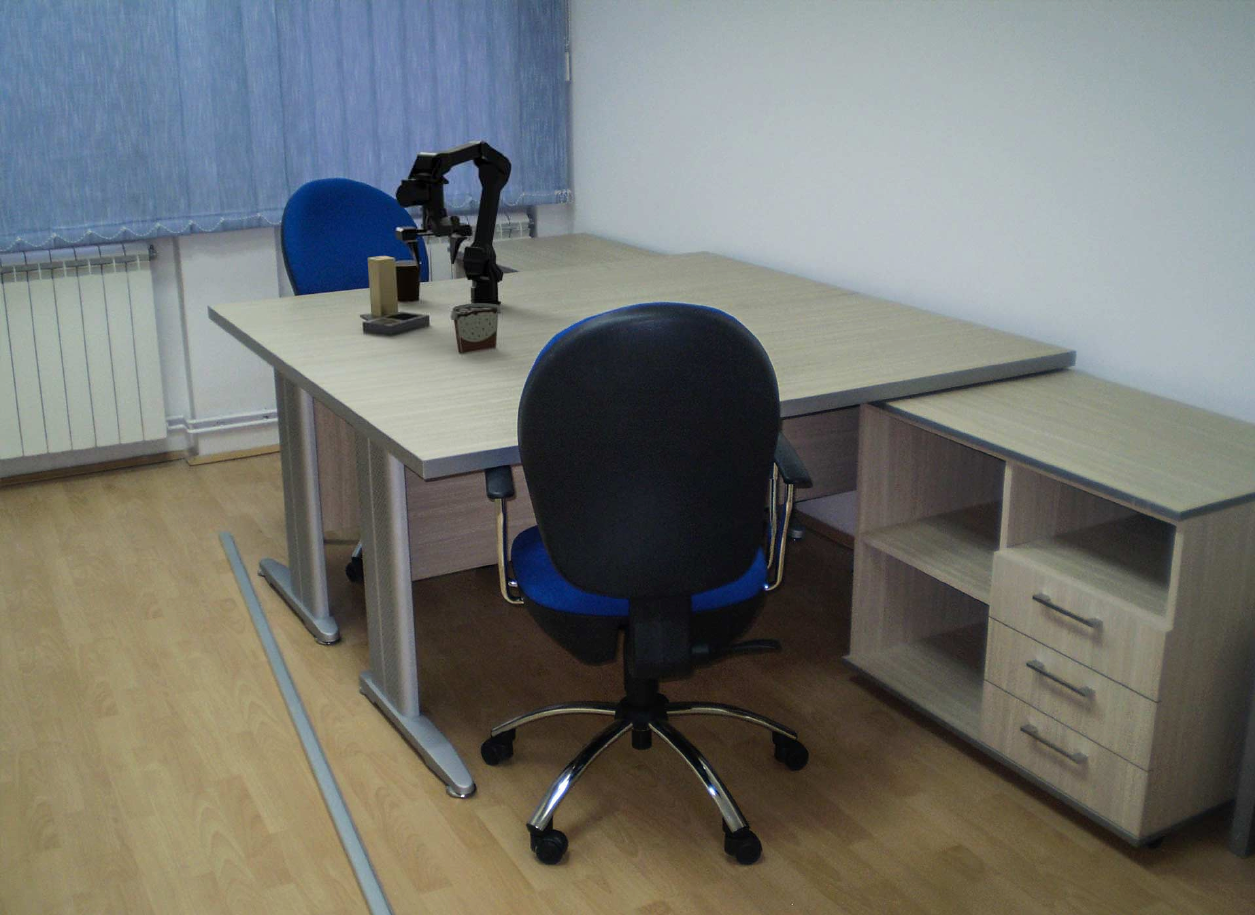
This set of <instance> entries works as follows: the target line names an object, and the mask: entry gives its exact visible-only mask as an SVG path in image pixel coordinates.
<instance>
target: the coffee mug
mask: <svg viewBox="0 0 1255 915" xmlns="http://www.w3.org/2000/svg"><path fill="white" fill-rule="evenodd" d="M395 264H396V282H397V299H398V302H400V303H412V302H417V301H419V300H420V293H421V292H420V290H421V288H420V287H421V275H422V274H421V273H422V262H421V261H420V267H417V265H416V263H415V261H414V260H397V261H396V260H395Z"/></svg>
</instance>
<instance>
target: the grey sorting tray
mask: <svg viewBox="0 0 1255 915" xmlns="http://www.w3.org/2000/svg"><path fill="white" fill-rule="evenodd" d="M430 323H431V322H430V315H429V314H422V313H416V312H409V311H398V313H394V314H390V315H386V316H383V317H379V318H375V319H371V320H368V321H367V320H365V321H362V322H361V324H362V332H363V333H367V334H368V333H369V334H373V335H381V336H388V337H393V336H394V337H395V336H396V335H401V334H404V333H407V332H411V331H414V330H417V329H421V328H425V327H429V326H430Z"/></svg>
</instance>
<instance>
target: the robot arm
mask: <svg viewBox="0 0 1255 915" xmlns="http://www.w3.org/2000/svg"><path fill="white" fill-rule="evenodd" d="M469 161H472V164H473V165H474V166H475V167H476V168H477V169H478V171H477V172H478V173H477V174H478V175H477V176H478V179H479V183H480V185H481V193H480V200H479V207H478V213H477V219H476V223H475V224H476V225H475V226H476V227H475V231H474V238H473V242H472V243H471V244H470V245H469V246H465V247H464V248H463V250H464V251H463V258H462V259H461V261H462V262H463V263H462V264H463V265H462V268H463V271H464V272H465V276H466V278H467V281H471V284H472V285H471V286H470V300H469V301H470V302H471V304H475V303H486V304H495V305H499V304H501V303H502V302H501V301H500V300H499V283H500V282H502V281H503V278H504V272H503V271H502V269H501V268H500V267H499V265H498V264H497V254H496V251H495V248H494V246H493V242H494V236H495V229H496V223H497V218H498V211H499V204H500V198H501V193H502V190H503V189H504V188H505V186H506V185H507V184H508V182H509V180H510V176H511V172H512V168H513V166H512V163H511V161H510V160H509V158H508V157H507V156H506V155H504V154H503V153H502V152H500V151H499V150H497V149H495V148H494V147H492V146H491V145H490V144H489V143H488V142H486V141H485V140H471V141H468V142H467V143H463V144H460V145H458V146H454V147H451V148H448V149H445V150H443V151H422V152H419V153H418V154H416V159H415V160H414V162H413V164H412V168H411V170H410V172H409V175H408V176H407V179H406V178H403V179H401V181H400V182H401V184H400V185H399V186H398V187H397V189H396V192H395V199H396V202H397V204H398V205H399V206H400V207H401V208H403V209H409V208H413V207H419V211H420V212H421V223H420V228H416V227H414V226H411V225H410V226H398V227H396V229H395V232H394V233H395V239H397V240H399V241H401V242H402V243H405V245H406V246H407V248H408V249H409V252H410V254H411V256H412V258H413V261H415V263H416V265H417V267H420V262H421V259H420V258H421V256H420V250H419V245H420V241H419V240H417V239H418V237H430V236H431V237H432V236H434V237H435V238H442V237H449V239H448V240H449V256H450V258H449V259H450V263H451V265H455V262H456V260H457V256H458V253H459V249H460V247H461V245H462V243H463V242H464V241H465V240H466V241H467V240H468V237H472V236H473V228H472V226H471V224H470V223H466V222H461V219H460V216H459V215H451V216H448V214H447V208H445V194H444V191H445V190H444V186H445V185H450V180H448V179H447V178H446V177H445V175H447V174H448V173H449V172H450V171H451V169H452V168H454V167H455V166H458V165H461V164H465V163H467V162H469Z"/></svg>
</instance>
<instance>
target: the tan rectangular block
mask: <svg viewBox="0 0 1255 915" xmlns="http://www.w3.org/2000/svg"><path fill="white" fill-rule="evenodd" d="M395 262H396V257H391V256H388V255H379V256H378V255H377V256H371V257H367V267H368V269H367V270H368V283H369V284H368V286H369V298H370V299H369V300H370V314H371V316H373V317H376V318H379V317H383V316H386V315H390V314H394V313H398V312H399V303H398V302H399V301H398V299H397V282H396V264H395Z"/></svg>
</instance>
